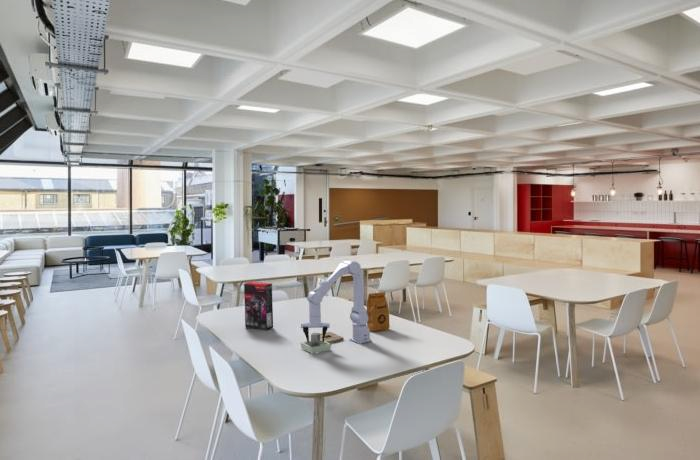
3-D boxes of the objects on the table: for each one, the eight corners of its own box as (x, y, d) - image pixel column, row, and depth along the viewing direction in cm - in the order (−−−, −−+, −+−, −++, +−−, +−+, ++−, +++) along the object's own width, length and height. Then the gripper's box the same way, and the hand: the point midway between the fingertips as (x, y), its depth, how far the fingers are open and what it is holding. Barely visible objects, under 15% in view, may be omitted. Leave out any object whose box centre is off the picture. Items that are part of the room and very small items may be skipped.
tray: (330, 349, 218) (330, 343, 218) (311, 354, 212) (311, 348, 212) (319, 344, 227) (319, 338, 227) (301, 348, 221) (300, 342, 221)
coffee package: (391, 330, 249) (391, 293, 247) (371, 333, 244) (371, 295, 243) (384, 326, 258) (383, 290, 257) (365, 328, 254) (364, 291, 252)
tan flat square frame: (343, 340, 233) (343, 337, 233) (324, 344, 226) (324, 341, 226) (329, 334, 244) (329, 331, 244) (311, 338, 237) (311, 335, 237)
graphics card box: (244, 327, 260) (242, 283, 259) (251, 324, 266) (250, 281, 265) (266, 331, 252) (265, 285, 251) (274, 328, 258) (272, 283, 257)
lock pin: (320, 346, 221) (320, 333, 220) (317, 348, 217) (317, 335, 217) (313, 346, 222) (313, 332, 221) (311, 348, 218) (310, 334, 218)
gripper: (329, 313, 222) (330, 338, 223) (301, 313, 222) (302, 339, 223) (329, 316, 215) (329, 343, 216) (300, 317, 215) (300, 343, 216)
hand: (315, 341), depth 219 cm, fingers open, 7 cm apart
